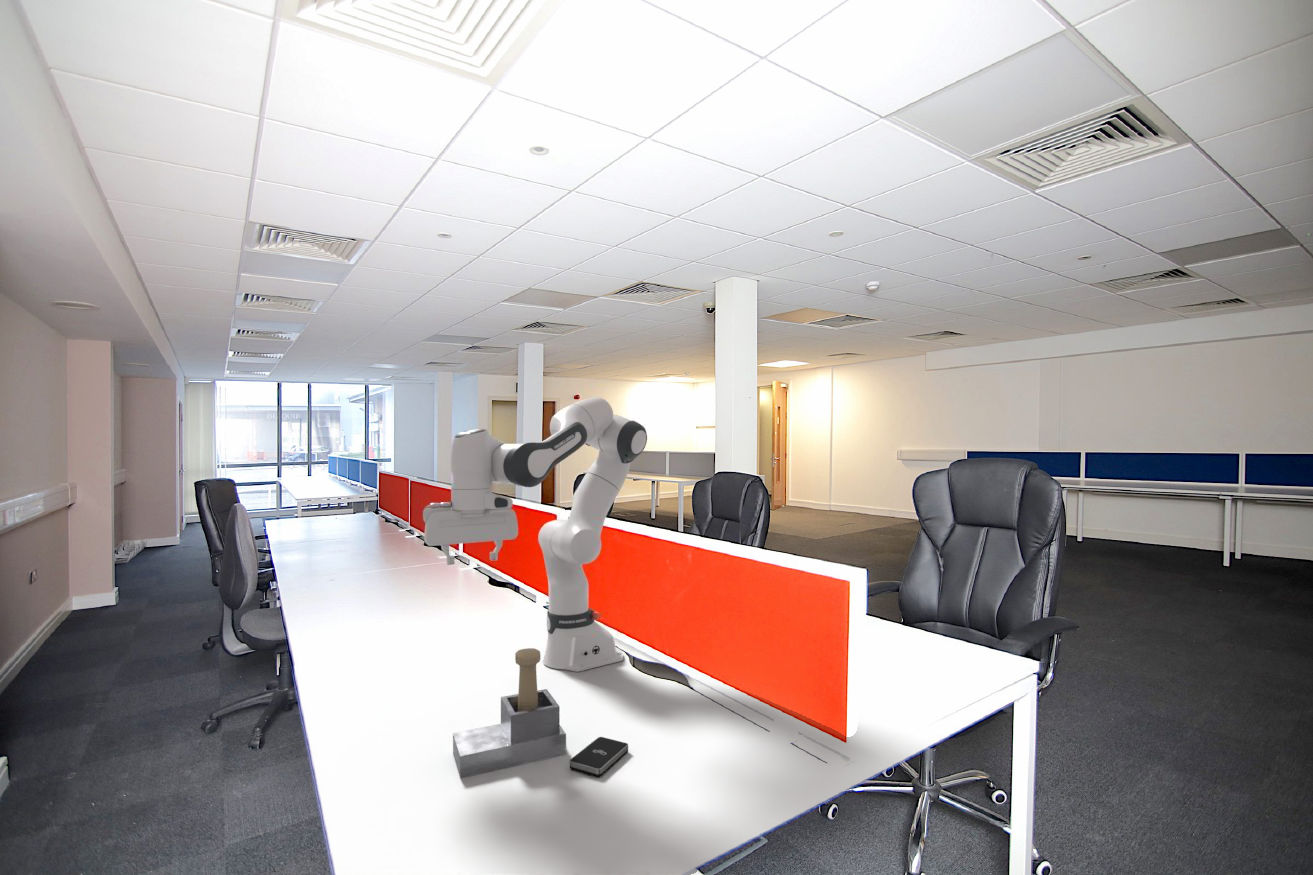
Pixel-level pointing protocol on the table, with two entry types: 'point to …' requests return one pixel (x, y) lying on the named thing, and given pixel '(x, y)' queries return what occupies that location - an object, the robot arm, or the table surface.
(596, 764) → the external hard drive
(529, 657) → the handle
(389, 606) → the table surface
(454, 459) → the robot arm
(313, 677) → the table surface
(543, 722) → the duct
